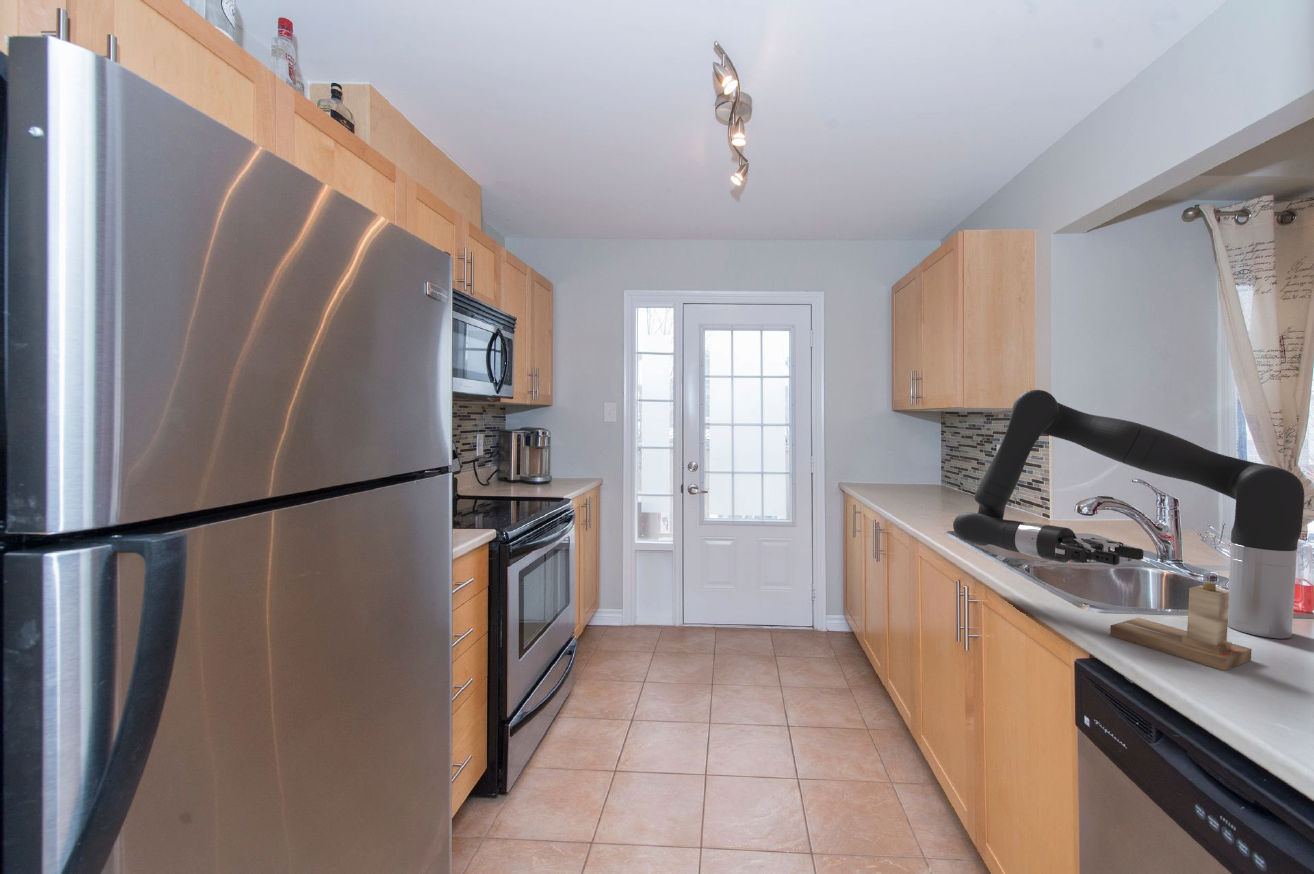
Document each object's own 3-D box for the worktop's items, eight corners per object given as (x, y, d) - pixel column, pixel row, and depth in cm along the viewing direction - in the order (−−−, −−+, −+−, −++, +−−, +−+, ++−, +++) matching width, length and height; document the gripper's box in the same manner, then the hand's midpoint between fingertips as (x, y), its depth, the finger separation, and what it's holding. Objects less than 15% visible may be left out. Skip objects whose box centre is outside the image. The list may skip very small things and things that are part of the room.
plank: (1137, 627, 118) (1138, 617, 118) (1251, 659, 103) (1251, 648, 103) (1110, 635, 114) (1110, 625, 114) (1224, 670, 99) (1224, 659, 99)
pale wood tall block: (1195, 639, 107) (1198, 577, 107) (1235, 650, 102) (1238, 586, 102) (1181, 643, 105) (1184, 581, 105) (1221, 655, 100) (1225, 589, 100)
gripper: (1025, 527, 126) (1111, 542, 111) (1064, 521, 132) (1150, 534, 117) (1024, 562, 126) (1110, 581, 111) (1063, 554, 132) (1149, 571, 118)
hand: (1130, 557), depth 114 cm, fingers open, 8 cm apart
